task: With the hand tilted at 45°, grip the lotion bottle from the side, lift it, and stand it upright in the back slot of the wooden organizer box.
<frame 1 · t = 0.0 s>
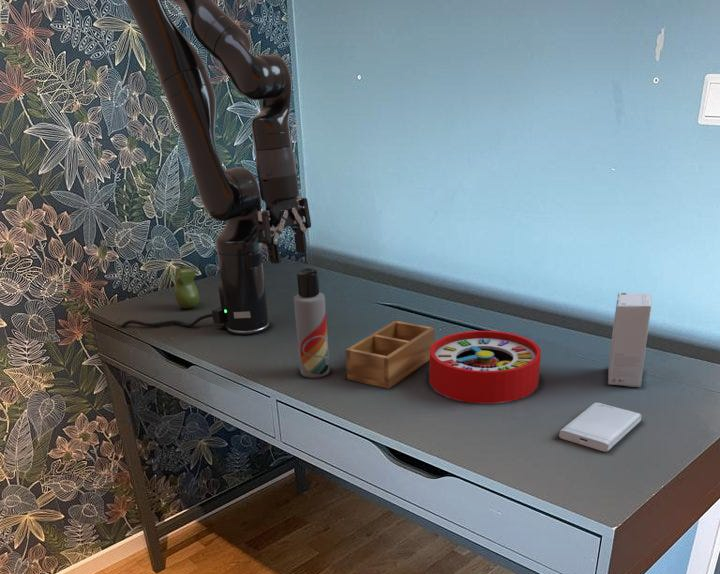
hand: (288, 257, 157), 17 cm above the table, tool pointing down, fingers open, 8 cm apart
hard drive: (600, 431, 125), on the table
pear: (189, 308, 186), on the table
cosmetic box: (623, 378, 142), on the table
toy clock: (483, 380, 143), on the table
wooden organizer box: (392, 367, 150), on the table
lotion bottle: (315, 373, 149), on the table
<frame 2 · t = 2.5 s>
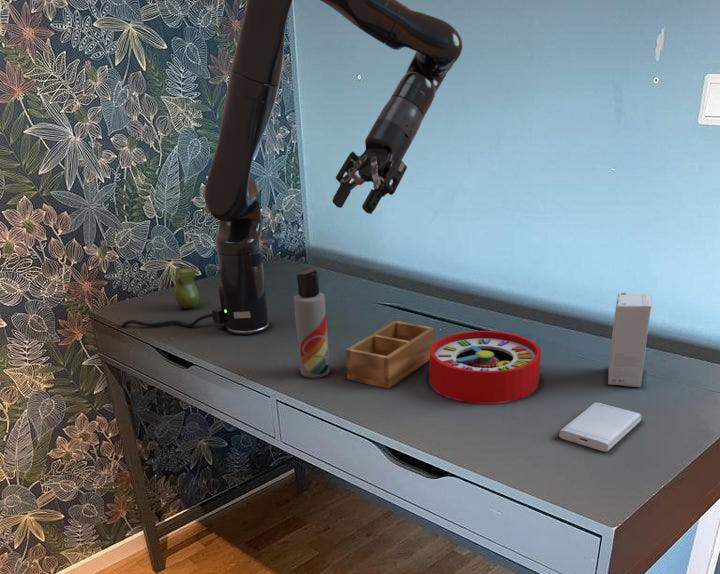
hand: (351, 208, 141), 29 cm above the table, tool tilted 45°, fingers open, 8 cm apart
nothing on the table moved.
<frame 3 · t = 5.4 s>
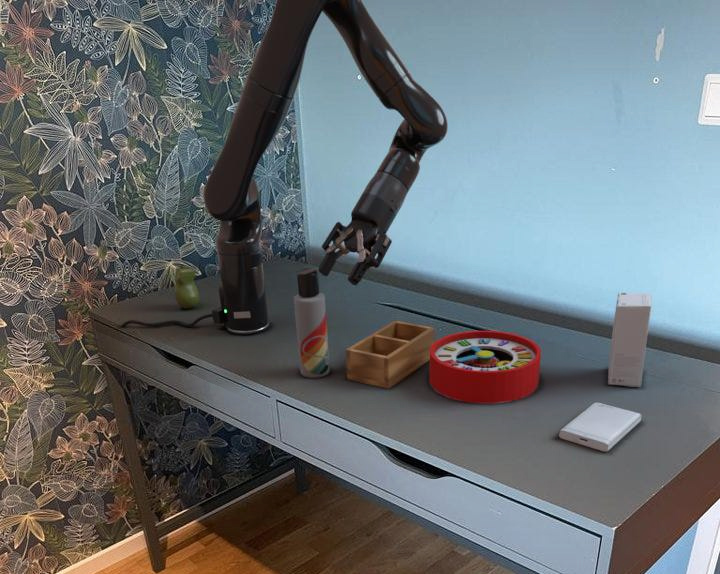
hand: (336, 278, 144), 17 cm above the table, tool tilted 45°, fingers open, 8 cm apart
nothing on the table moved.
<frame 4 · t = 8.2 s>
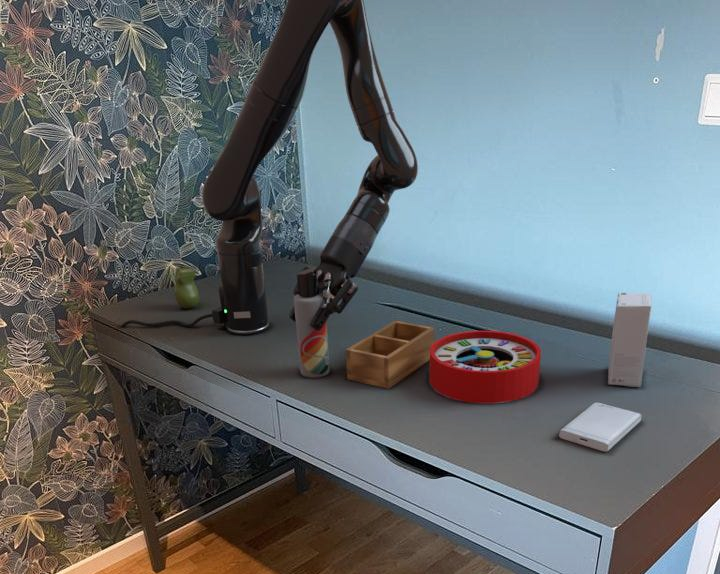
hand: (303, 324, 143), 10 cm above the table, tool tilted 45°, fingers closed on lotion bottle, 5 cm apart
lotion bottle: (315, 373, 149), on the table, touching gripper
everything else where it was.
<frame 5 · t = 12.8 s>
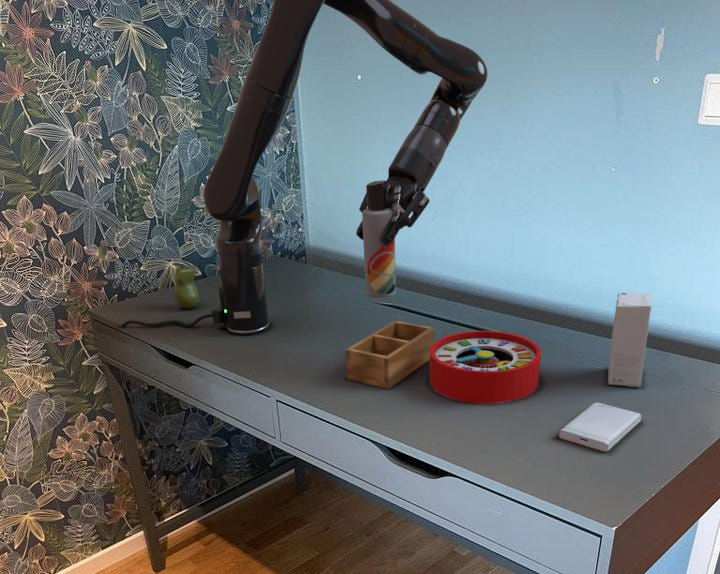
hand: (372, 240, 138), 24 cm above the table, tool tilted 45°, fingers closed on lotion bottle, 5 cm apart
lotion bottle: (381, 294, 145), point 14 cm above the table, touching gripper
everything else where it was.
when the fingers open (11 cm above the table, at t = 17.4 s): lotion bottle stays where it is, resting on wooden organizer box.
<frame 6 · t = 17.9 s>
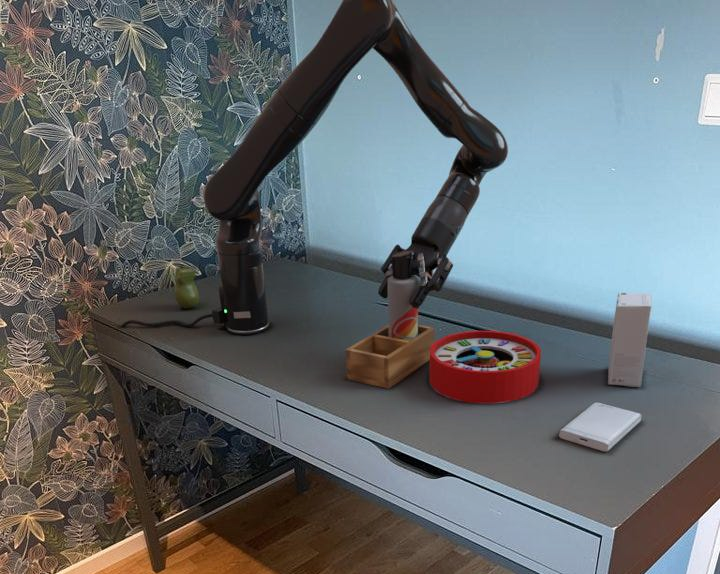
hand: (397, 301, 145), 12 cm above the table, tool tilted 45°, fingers open, 8 cm apart
lotion bottle: (403, 355, 152), point 1 cm above the table, touching wooden organizer box
everything else where it was.
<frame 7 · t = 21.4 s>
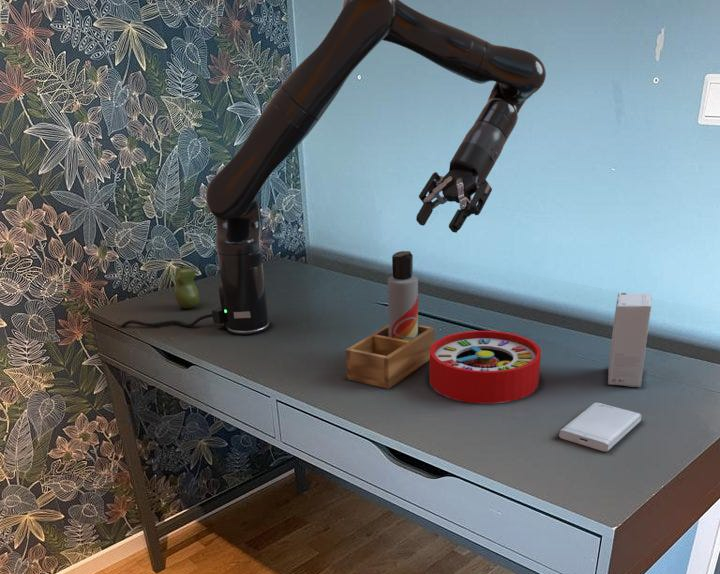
hand: (435, 226, 147), 24 cm above the table, tool tilted 45°, fingers open, 8 cm apart
nothing on the table moved.
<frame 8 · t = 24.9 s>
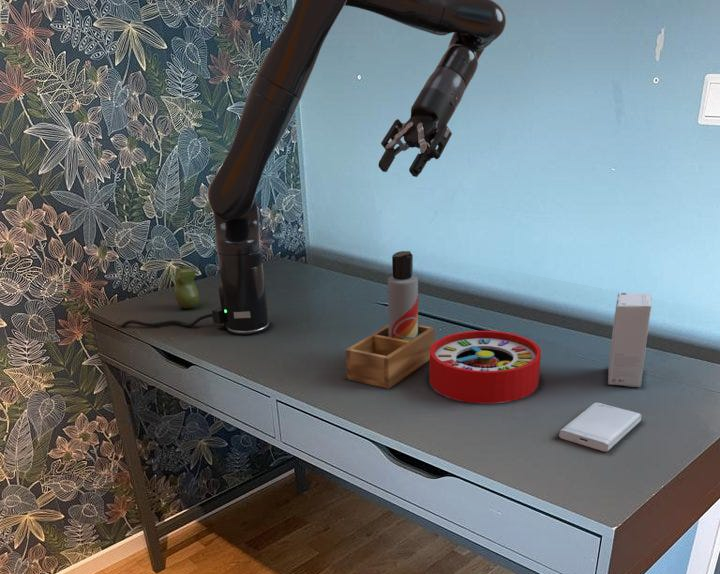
hand: (396, 171, 148), 33 cm above the table, tool tilted 45°, fingers open, 8 cm apart
nothing on the table moved.
at the end: lotion bottle 0.1 cm from the target spot in the wooden organizer box, point 1.0 cm above the wooden organizer box's base; lotion bottle tilted 0°; the gripper is holding nothing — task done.
